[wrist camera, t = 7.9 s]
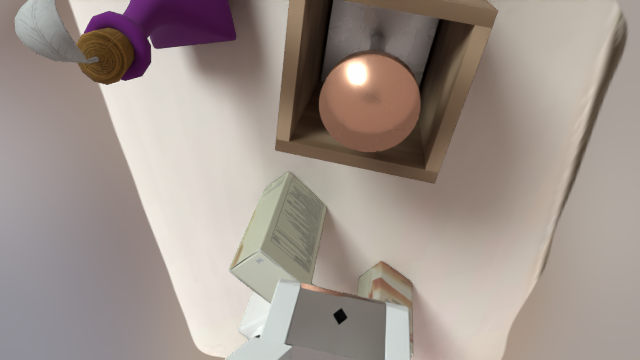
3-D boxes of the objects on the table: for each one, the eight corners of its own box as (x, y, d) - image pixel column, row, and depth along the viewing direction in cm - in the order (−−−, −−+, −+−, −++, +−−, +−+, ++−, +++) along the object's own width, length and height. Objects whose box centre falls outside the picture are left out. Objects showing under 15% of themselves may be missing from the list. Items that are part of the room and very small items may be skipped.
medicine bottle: (291, 316, 56) (268, 403, 46) (253, 286, 53) (221, 370, 43) (329, 297, 52) (313, 386, 42) (291, 263, 50) (264, 349, 40)
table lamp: (337, -24, 29) (301, 10, 18) (444, -5, 29) (475, 43, 18) (322, 79, 33) (284, 158, 22) (414, 97, 33) (424, 187, 22)
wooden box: (330, -47, 31) (291, -28, 20) (459, -24, 31) (498, 10, 19) (313, 77, 37) (275, 150, 25) (422, 99, 36) (434, 183, 25)
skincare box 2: (413, 281, 48) (417, 357, 40) (388, 298, 51) (386, 373, 42) (381, 258, 47) (377, 330, 39) (356, 276, 49) (348, 349, 41)
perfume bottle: (249, 30, 35) (141, 111, 20) (172, 39, 37) (20, 120, 22) (227, -69, 32) (74, -59, 17) (142, -54, 33) (-68, -33, 18)
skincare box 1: (262, 189, 45) (223, 269, 34) (289, 169, 42) (256, 247, 32) (302, 227, 46) (276, 312, 36) (330, 209, 44) (310, 294, 34)
